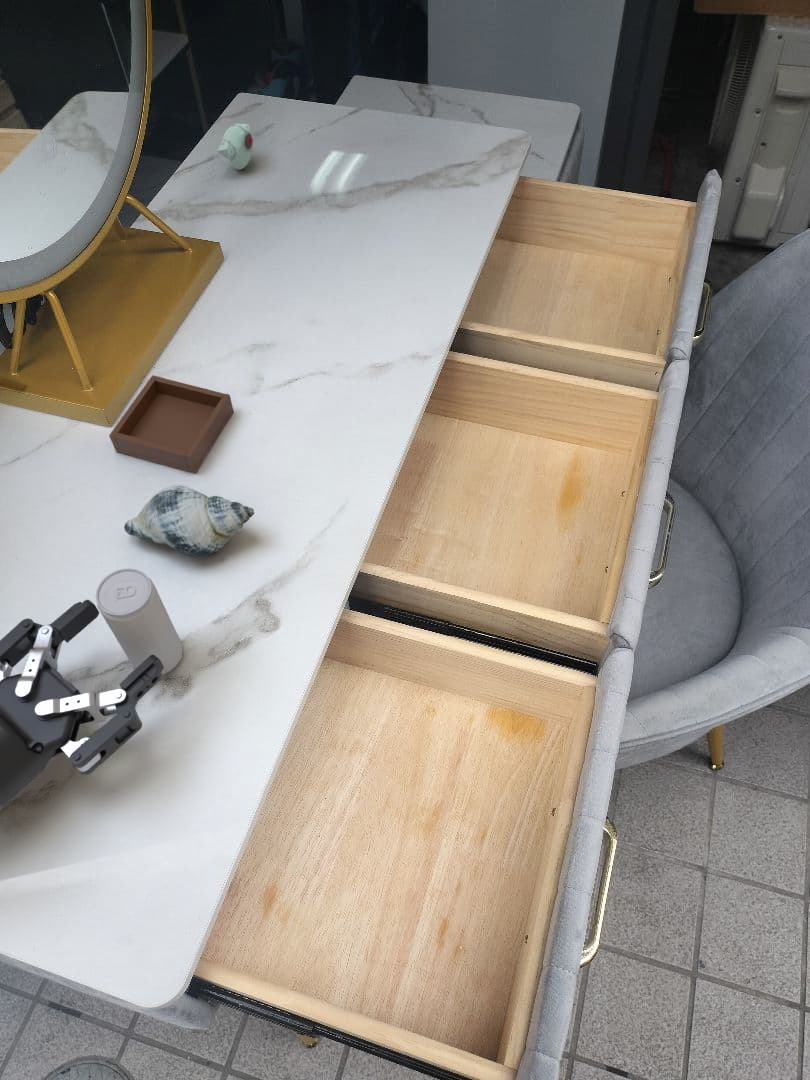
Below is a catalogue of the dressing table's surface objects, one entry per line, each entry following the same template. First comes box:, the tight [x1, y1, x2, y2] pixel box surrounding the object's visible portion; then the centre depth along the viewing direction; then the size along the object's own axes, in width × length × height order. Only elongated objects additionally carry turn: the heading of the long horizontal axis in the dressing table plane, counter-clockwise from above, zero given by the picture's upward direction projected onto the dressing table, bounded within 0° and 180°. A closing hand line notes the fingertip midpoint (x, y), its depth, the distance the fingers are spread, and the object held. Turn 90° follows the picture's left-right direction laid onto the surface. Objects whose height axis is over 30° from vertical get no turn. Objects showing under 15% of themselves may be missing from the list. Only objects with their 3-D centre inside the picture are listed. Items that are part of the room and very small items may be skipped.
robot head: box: [216, 122, 254, 171], centre depth 121 cm, size 8×4×7 cm, turn 159°
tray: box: [108, 375, 234, 474], centre depth 92 cm, size 10×10×3 cm
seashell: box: [123, 484, 255, 557], centre depth 83 cm, size 6×8×12 cm
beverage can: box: [95, 567, 184, 676], centre depth 72 cm, size 5×5×12 cm
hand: (125, 632), depth 71 cm, fingers open, 8 cm apart
